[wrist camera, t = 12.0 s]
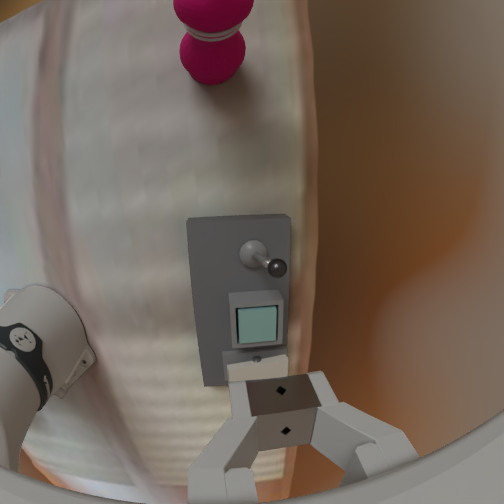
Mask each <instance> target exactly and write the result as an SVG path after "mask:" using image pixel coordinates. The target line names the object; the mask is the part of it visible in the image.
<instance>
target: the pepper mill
mask: <svg viewBox="0 0 504 504" xmlns="http://www.w3.org/2000/svg"><path fill="white" fill-rule="evenodd" d="M253 2H254V0H174V2H173V5H174V10H175V12H176V15H177V16H178V18H179V19H180V21H182V22H183V23H184V27H185V29H186V30H187V33H186V34H185V36H184V37H183V39H182V42H181V44H180V59H181V62H182V64H183V66H184V67H185V69H186V70H187V71H188V72H189V73H190V75H191V76H192V77H193V78H194V79H195V80H197V81H198V82H200V83H203V84H209V85H214V84H220V83H222V82H225V81H226V80H228V79H229V78H230V77H231V76H232V75H233V74H234V73H235V71H236V70H237V69H238V68H239V66H240V65H241V64H242V62H243V60H244V57H245V49H246V46H245V41H244V39H243V36H242V34H241V33H240V31H239V28H240V26H241V24H242V21H243V20H244V19H245V18H246V17H247V16H248V15H249V13H250V11H251V9H252V7H253Z"/></svg>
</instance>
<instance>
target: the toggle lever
mask: <svg viewBox="0 0 504 504" xmlns="http://www.w3.org/2000/svg"><path fill="white" fill-rule="evenodd" d="M252 259H253V260H254V261H256V262H257V263H259V264H261V265H263V266H264V267H266V268H267V270H268V273H269V275H270V276H272V277H273V278H281V277H283V276H284V275H285V274H286V272H287V265H286V263H285V261H284V260H282V259H279V258H275V259H272V260H271V259H269V258H267V257H265V256H264V255H262V254H260V253H258V252H254V253H253V254H252Z"/></svg>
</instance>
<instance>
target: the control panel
mask: <svg viewBox="0 0 504 504" xmlns="http://www.w3.org/2000/svg"><path fill="white" fill-rule="evenodd" d="M186 225H187V240H188V252H189V264H190V275H191V286H192V295H193V305H194V314H195V322H196V330H197V338H198V346H199V353H200V361H201V368H202V374H203V381H204V387H205V386H223V385H228V374H227V365H230V364H236V363H242V362H247V361H252V358H253V357H254V356H260V357H261V359H264V358H269V357H274V356H279V355H283V354H285V355H286V356H287V350H288V349H287V334H288V310H289V280H290V229H291V218H290V217H289V216H287V215H286V214H265V215H239V216H217V217H199V218H188V220H187V222H186ZM254 252H258V253H260V254H262V255H264V256H265V257H267V258H269V259H271V260H272V259H275V258H279V259H282V260H284V261H285V263H286V265H287V272H286V274H285V275H284V276H283V277H281V278H273V277H272V276H270V275H269V273H268V270H267V268H266V267H264V266H263V265H261V264H259V263H257V262H256V261H254V260H253V259H252V254H253V253H254ZM270 305H275V306H276V309H277V314H276V340H275V341H265V342H253V343H241V344H240V342H239V336H238V328H237V308H244V307H257V306H270Z"/></svg>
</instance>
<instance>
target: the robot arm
mask: <svg viewBox="0 0 504 504" xmlns="http://www.w3.org/2000/svg"><path fill="white" fill-rule="evenodd" d="M84 360H85V361H86V362H85V361H84ZM95 360H96V357H95V354H94V353H93V351H92V349H91V348H90V346H89V345H88V343H87V340H86V335H85V331H84V328H83V325H82V323H81V321H80V319H79V317H78V315H77V313H76V312H75V310H74V309H73V308H72V307H71V305H70V304H69V303H68V302H67V301H66V300H65V299H64V298H63V297H61V296H60V295H59V294H57V293H56V292H54V291H53V290H51V289H48V288H46V287H42V286H29V287H26V288H24V289H22V290H19V291H18V290H8V291H7V292H6V293H5V294H4V304H3V305H2V306H1V307H0V504H144V503H135V502H128V501H121V500H115V499H109V498H103V497H98V496H94V495H89V494H85V493H80V492H76V491H72V490H69V489H65V488H61V487H58V486H55V485H51V484H48V483H45V482H42V481H39V480H36V479H34V478H31V477H28V476H25V475H23V474H20V473H19V472H18V469H19V468H18V467H19V455H20V450H21V446H22V443H23V441H24V438H25V436H26V433H27V431H28V429H29V426H30V424H31V422H32V420H33V418H34V416H35V414H36V412H37V411H39V410H41V409H42V407H43V406H44V405H45V404H46V402H47V401H48V399H49V398H50V397H51V396H52V395H57V396H58V397H59V398H60V399H63V397H64V396H65V394H66V393H67V391H68V388H69V387H70V386H71V385H72V384H73V383H74V382H75V381H76V380H77V379H78V378H79V377H80V376H81V375H82V374H83V373H84V372H85V371H86V370H87V369H88V368H89V367H90V366H91V365H92V364H93V363H94V361H95ZM229 391H230V402H231V412H232V419H227V420H226V422H225V423H224V424H223V426H222V427H221V428H220V430H219V431H218V432H217V434H216V435H215V436H214V437H213V439H212V440H211V441H210V442H209V444H208V445H207V446H206V447H205V449H204V450H203V451H202V452H201V454H200V455H199V456H198V457H197V459H196V460H195V461H194V462H193V463H192V465H191V466H190V467H189V468H188V504H504V409H503V410H502V411H500V412H499V413H497V414H496V415H495V416H493V417H492V418H490V419H489V420H487V421H486V422H484V423H483V424H481V425H480V426H478V427H476V428H475V429H473V430H472V431H470V432H468V433H466V434H465V435H463V436H461V437H460V438H458V439H456V440H454V441H453V442H451V443H449V444H447V445H445V446H443V447H441V448H440V449H438V450H435V451H433V452H432V453H430V454H427V455H425V456H423V457H421V458H420V457H419V455H418V454H417V452H416V451H415V449H414V448H413V446H412V445H411V443H410V442H409V440H408V439H407V437H406V436H405V434H404V433H403V431H402V430H400V429H397V428H395V427H393V426H391V425H389V424H387V423H384V422H382V421H380V420H378V419H376V418H374V417H372V416H370V415H368V414H366V413H364V412H362V411H360V410H358V409H356V408H354V407H352V406H350V405H348V404H346V403H345V402H341V403H339V401H338V399H337V398H336V396H335V394H334V392H333V390H332V388H331V386H330V384H329V383H328V381H327V379H326V377H325V375H324V373H323V372H322V371H317V372H311V373H306V374H300V375H294V376H286V377H279V378H270V379H258V380H245V381H232V382H229ZM309 443H311V445H312V446H313V447H314V448H316V449H317V450H318V451H319V452H321V453H322V454H323V455H324V456H326V457H327V458H328V459H330V460H331V461H332V462H334V463H335V464H336V465H338V466H339V467H340V468H342V469H343V470H345V471H346V473H345V475H344V477H343V479H342V481H341V484H340V486H339V487H338V488H335V489H331V490H327V491H323V492H319V493H315V494H310V495H305V496H300V497H295V498H289V499H283V500H277V501H270V502H262V503H259V502H258V497H257V491H256V486H255V481H254V476H253V471H252V470H250V467H251V465H252V464H253V462H254V460H255V458H256V456H257V454H258V451H265V450H271V449H278V448H283V447H291V446H297V445H304V444H309Z"/></svg>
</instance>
